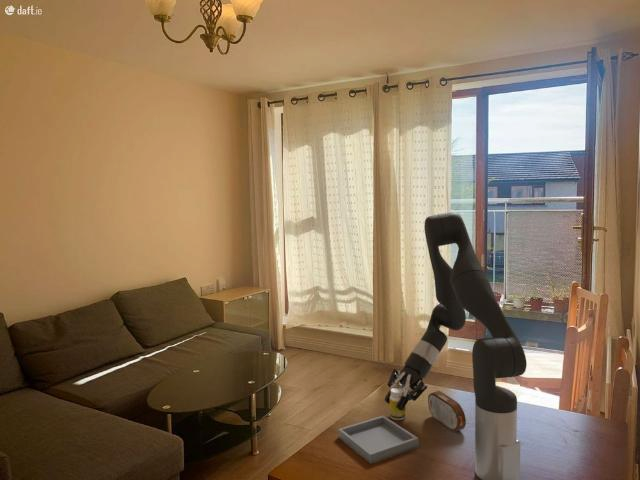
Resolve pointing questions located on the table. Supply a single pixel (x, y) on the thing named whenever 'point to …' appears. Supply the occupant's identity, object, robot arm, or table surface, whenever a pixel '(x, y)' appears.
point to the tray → (378, 439)
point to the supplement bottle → (394, 399)
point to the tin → (446, 411)
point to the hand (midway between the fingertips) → (392, 405)
